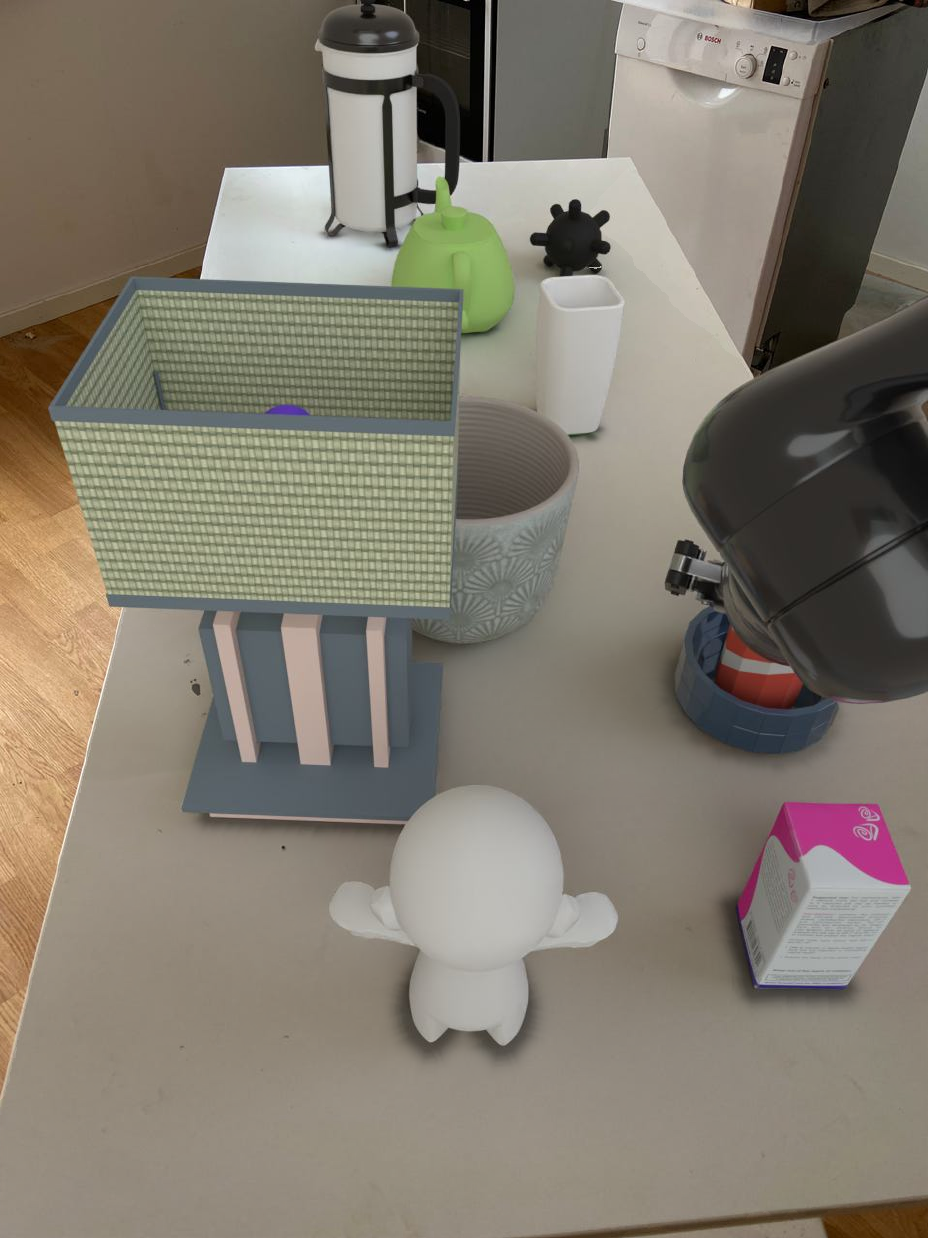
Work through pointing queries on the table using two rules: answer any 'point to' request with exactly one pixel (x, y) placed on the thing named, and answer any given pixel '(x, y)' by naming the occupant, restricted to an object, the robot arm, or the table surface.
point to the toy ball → (573, 239)
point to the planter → (505, 518)
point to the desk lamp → (282, 522)
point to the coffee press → (378, 119)
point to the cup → (576, 349)
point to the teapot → (458, 261)
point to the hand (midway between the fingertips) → (787, 611)
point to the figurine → (474, 908)
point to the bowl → (734, 716)
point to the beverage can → (755, 676)
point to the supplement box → (819, 895)
